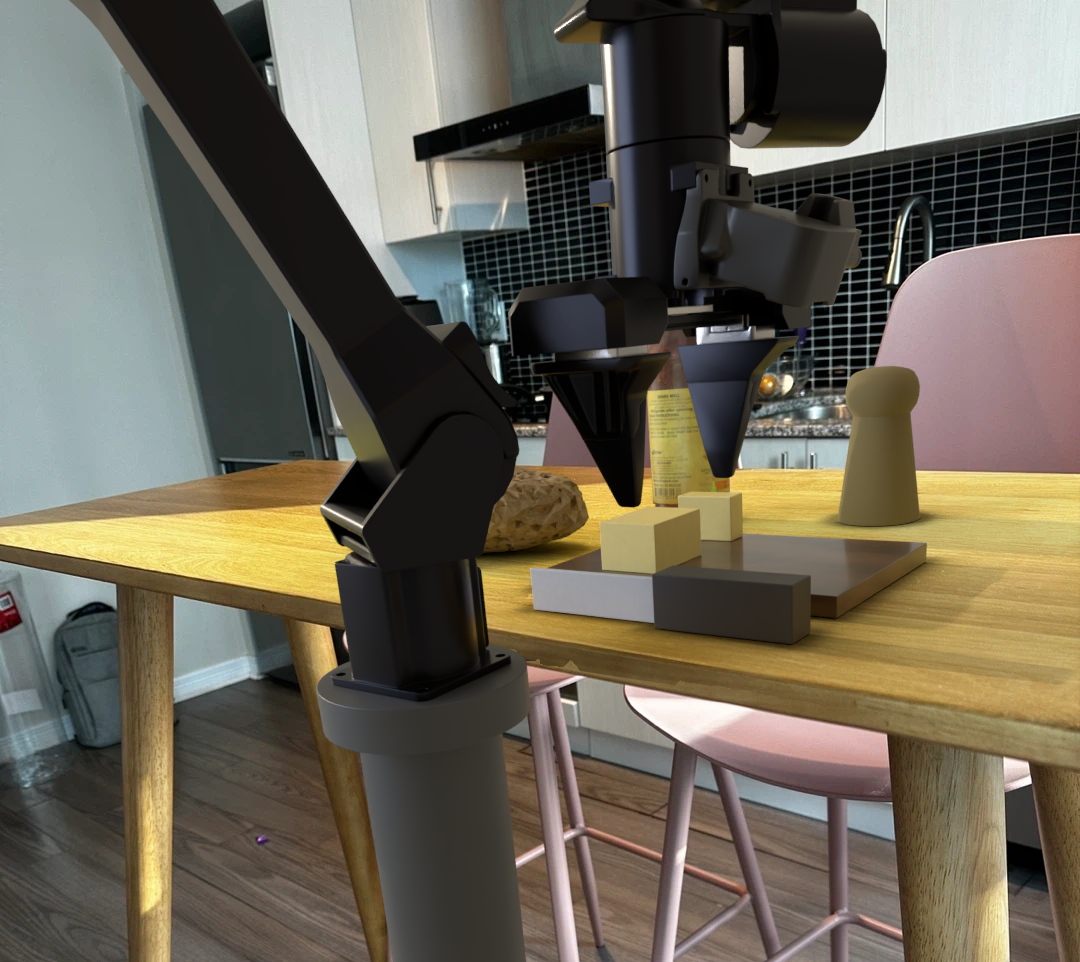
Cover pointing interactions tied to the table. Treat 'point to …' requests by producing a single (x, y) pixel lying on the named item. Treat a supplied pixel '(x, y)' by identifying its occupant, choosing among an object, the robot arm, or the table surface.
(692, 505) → the block
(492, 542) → the sponge
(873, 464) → the cork
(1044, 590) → the table surface
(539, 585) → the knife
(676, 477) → the sauce bottle
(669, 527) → the butter block
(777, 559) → the cutting board
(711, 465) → the robot arm
